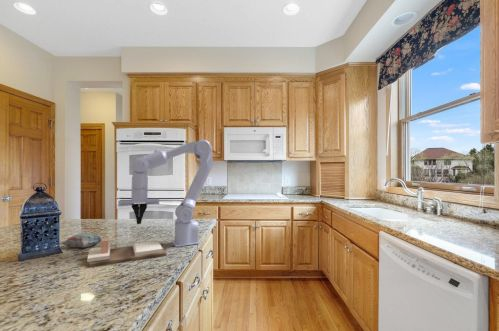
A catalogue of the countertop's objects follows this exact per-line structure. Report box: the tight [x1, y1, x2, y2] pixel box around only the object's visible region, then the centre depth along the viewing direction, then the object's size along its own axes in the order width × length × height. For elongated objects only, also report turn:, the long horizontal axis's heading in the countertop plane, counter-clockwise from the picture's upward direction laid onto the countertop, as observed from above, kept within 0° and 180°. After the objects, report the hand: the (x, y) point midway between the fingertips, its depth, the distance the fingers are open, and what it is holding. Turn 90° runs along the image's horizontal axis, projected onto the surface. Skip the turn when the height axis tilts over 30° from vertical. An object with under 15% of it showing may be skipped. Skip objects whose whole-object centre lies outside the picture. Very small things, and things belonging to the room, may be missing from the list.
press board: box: [88, 242, 167, 268], centre depth 87 cm, size 23×14×1 cm, turn 119°
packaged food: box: [59, 232, 103, 249], centre depth 96 cm, size 9×12×5 cm
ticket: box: [132, 240, 164, 256], centre depth 90 cm, size 9×11×1 cm
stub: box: [86, 236, 111, 263], centre depth 82 cm, size 6×11×5 cm, turn 29°
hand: (138, 223), depth 95 cm, fingers closed
